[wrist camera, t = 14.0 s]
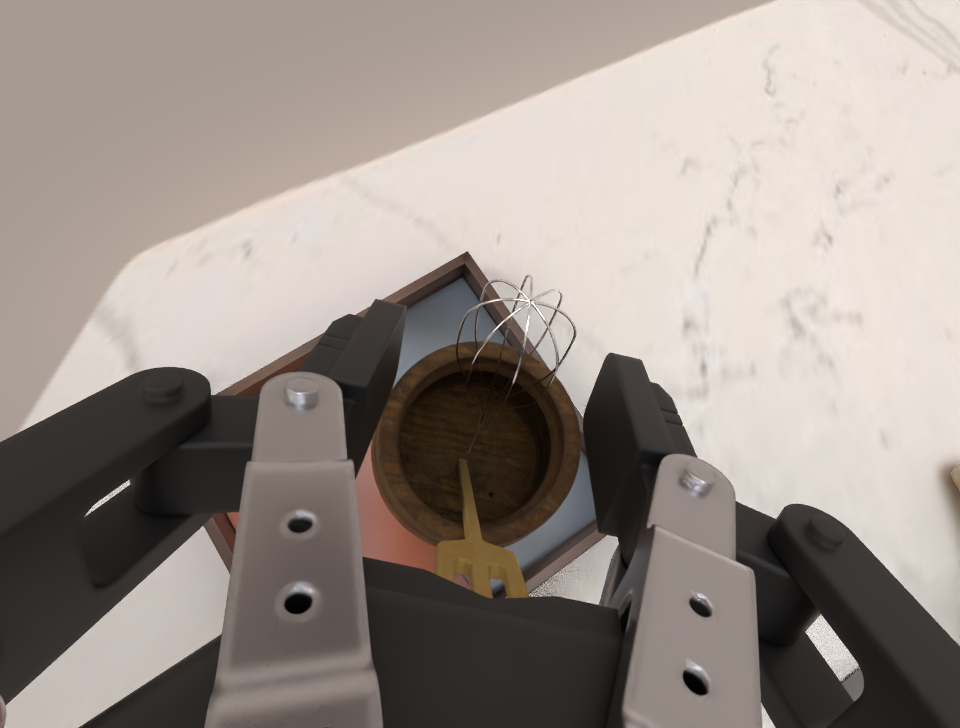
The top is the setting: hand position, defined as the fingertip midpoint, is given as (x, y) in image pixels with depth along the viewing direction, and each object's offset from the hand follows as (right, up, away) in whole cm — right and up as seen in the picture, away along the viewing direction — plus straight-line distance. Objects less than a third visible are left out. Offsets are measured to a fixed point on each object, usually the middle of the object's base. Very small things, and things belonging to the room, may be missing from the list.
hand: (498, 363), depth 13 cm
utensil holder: (-1, -4, +7) cm, 8 cm away
